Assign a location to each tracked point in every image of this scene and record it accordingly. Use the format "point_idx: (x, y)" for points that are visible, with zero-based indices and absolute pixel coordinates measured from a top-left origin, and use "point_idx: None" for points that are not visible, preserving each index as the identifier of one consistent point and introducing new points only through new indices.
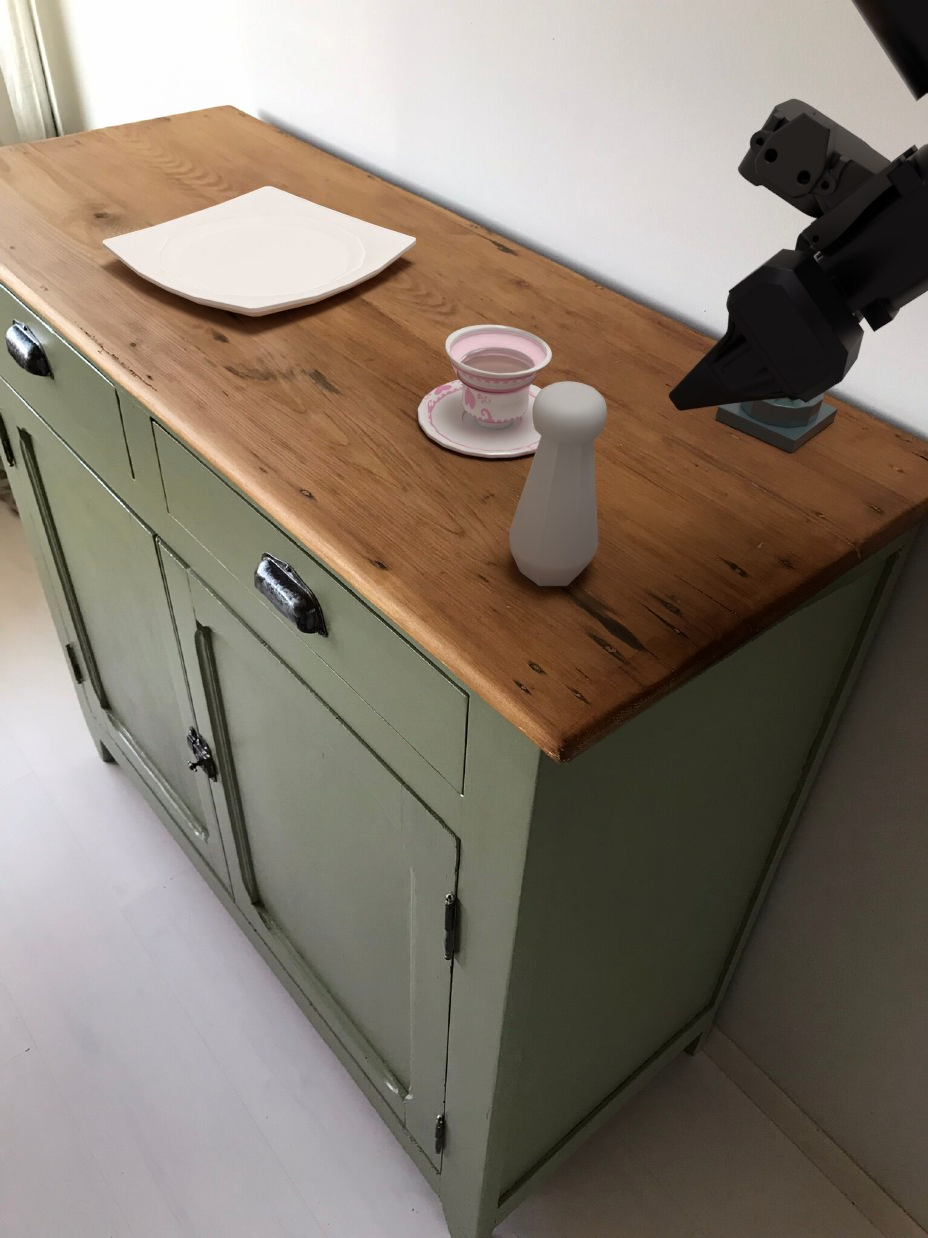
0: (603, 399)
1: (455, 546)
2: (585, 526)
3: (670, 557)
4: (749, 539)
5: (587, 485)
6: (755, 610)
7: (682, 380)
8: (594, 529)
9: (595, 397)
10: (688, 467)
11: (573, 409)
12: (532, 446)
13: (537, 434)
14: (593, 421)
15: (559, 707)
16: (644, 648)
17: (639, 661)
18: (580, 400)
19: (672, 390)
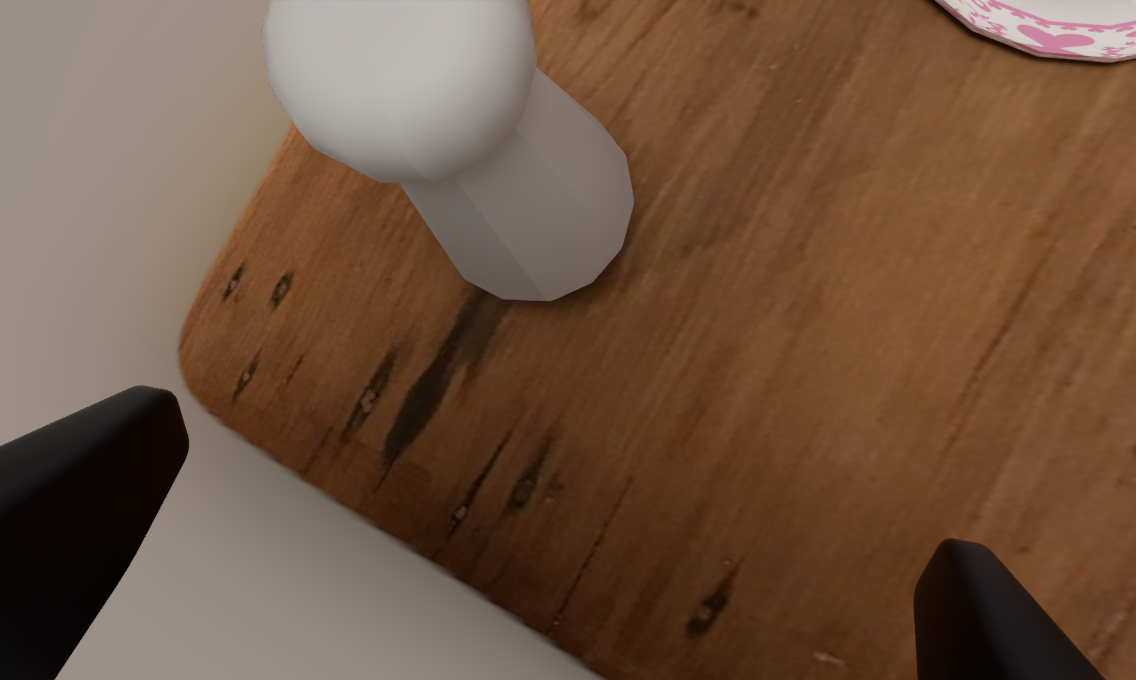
0: (430, 128)
1: (542, 22)
2: (467, 260)
3: (689, 457)
4: (841, 630)
5: (446, 220)
6: (582, 665)
7: (18, 439)
8: (512, 281)
9: (380, 97)
10: (1117, 429)
11: (282, 54)
12: (991, 14)
13: (1073, 3)
14: (314, 143)
15: (211, 354)
16: (392, 461)
17: (356, 459)
18: (332, 55)
19: (112, 398)
